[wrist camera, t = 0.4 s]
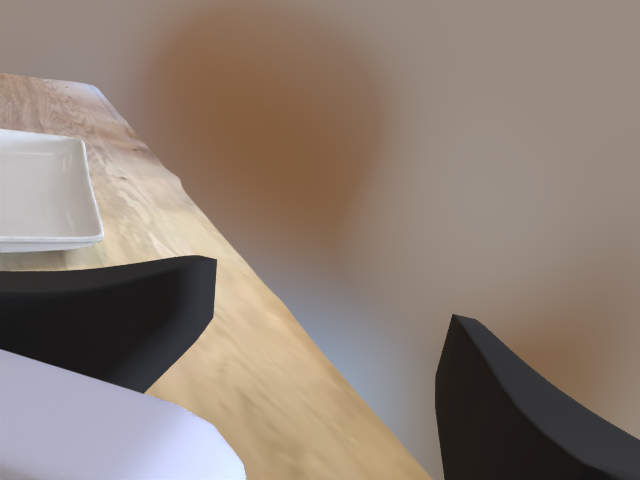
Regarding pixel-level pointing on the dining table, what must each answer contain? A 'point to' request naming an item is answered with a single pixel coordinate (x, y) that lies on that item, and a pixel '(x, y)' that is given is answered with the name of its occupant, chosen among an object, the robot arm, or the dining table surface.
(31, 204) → the square plate
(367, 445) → the dining table surface
